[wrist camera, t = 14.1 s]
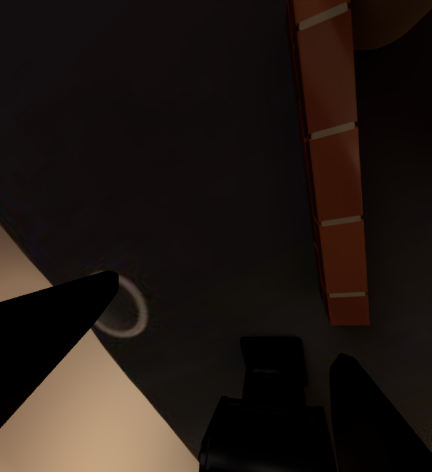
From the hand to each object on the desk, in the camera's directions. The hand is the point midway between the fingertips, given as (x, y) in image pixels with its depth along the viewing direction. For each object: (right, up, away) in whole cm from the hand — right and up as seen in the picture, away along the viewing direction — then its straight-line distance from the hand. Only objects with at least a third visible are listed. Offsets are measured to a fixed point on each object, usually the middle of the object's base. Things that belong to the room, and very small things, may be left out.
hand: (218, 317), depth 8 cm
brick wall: (+8, +8, +9) cm, 15 cm away
